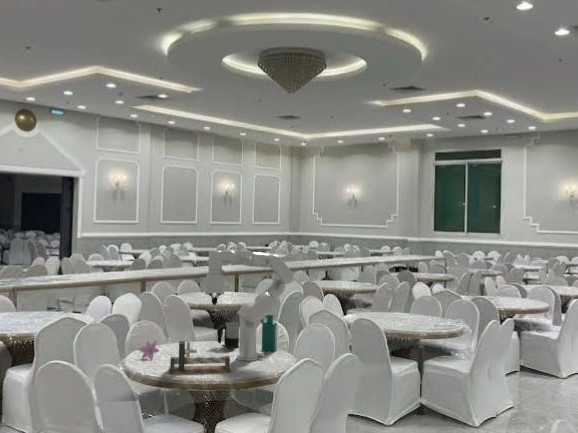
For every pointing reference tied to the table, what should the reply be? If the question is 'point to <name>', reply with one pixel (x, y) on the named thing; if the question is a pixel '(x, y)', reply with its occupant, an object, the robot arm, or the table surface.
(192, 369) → the pipe stand
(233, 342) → the milk frother
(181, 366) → the dark grey tapered slab
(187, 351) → the pipe connector
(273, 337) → the teal bottle
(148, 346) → the lily
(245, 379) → the table surface
